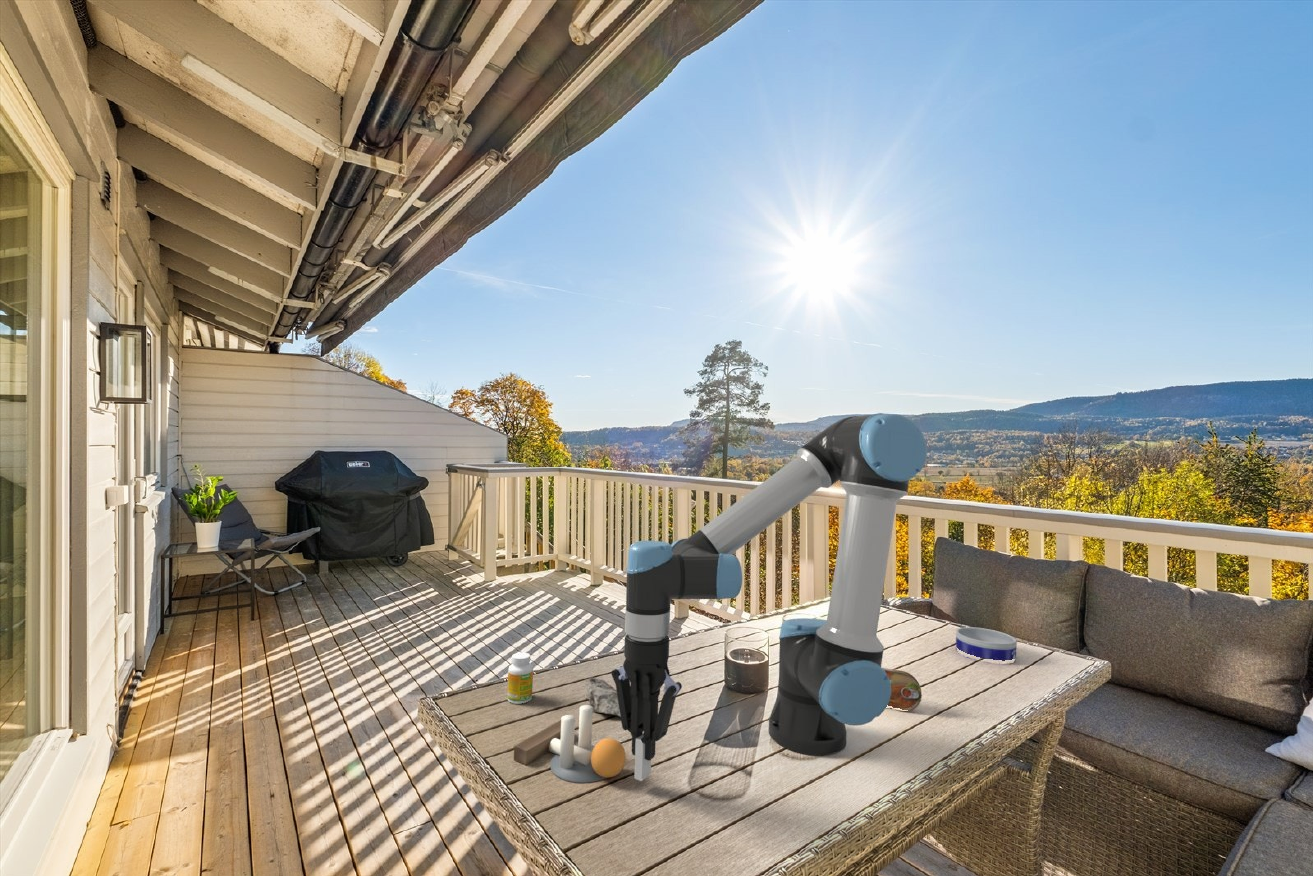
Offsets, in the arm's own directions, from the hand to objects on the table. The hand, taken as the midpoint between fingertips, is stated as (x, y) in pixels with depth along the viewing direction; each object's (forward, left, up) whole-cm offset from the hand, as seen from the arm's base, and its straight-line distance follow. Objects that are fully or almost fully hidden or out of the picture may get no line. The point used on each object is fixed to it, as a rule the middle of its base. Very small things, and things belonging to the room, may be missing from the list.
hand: (642, 776), depth 98 cm
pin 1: (+14, +2, -2) cm, 15 cm away
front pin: (+11, 0, -1) cm, 12 cm away
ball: (+7, 0, +1) cm, 7 cm away
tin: (-27, -59, -2) cm, 65 cm away
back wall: (+22, 0, -2) cm, 22 cm away
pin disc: (+12, 0, -2) cm, 13 cm away
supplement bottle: (+41, -12, -2) cm, 43 cm away
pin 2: (+14, -2, -2) cm, 15 cm away
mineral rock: (+23, -21, -2) cm, 31 cm away
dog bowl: (-44, -113, -2) cm, 121 cm away
